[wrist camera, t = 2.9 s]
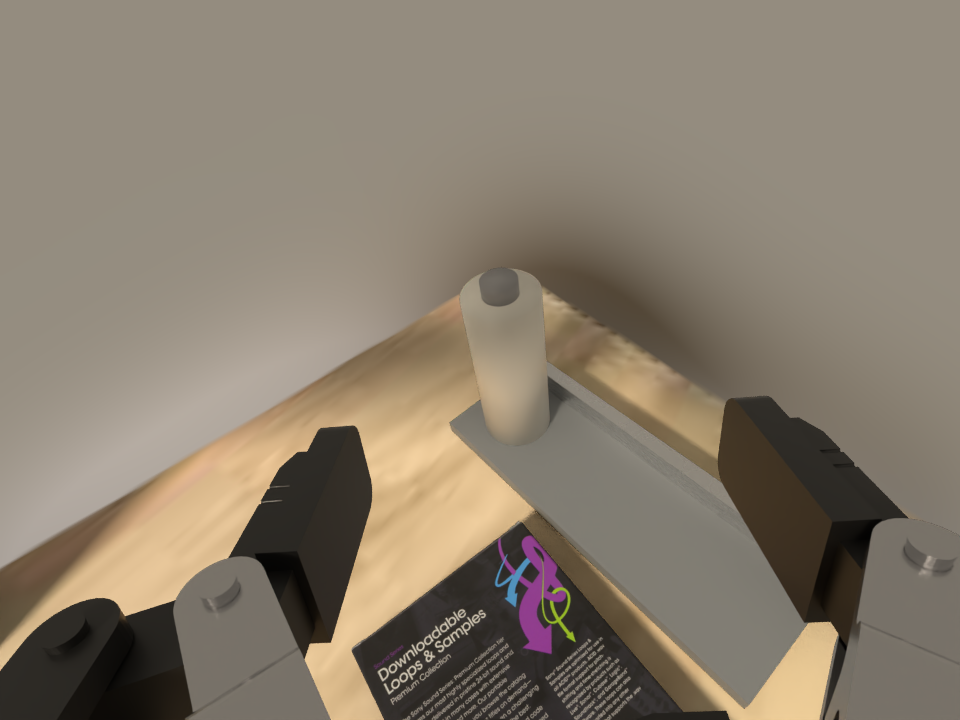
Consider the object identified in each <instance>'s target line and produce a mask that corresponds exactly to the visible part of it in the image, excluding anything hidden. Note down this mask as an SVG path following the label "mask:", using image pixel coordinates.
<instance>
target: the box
mask: <svg viewBox="0 0 960 720" xmlns="http://www.w3.org/2000/svg"><path fill="white" fill-rule="evenodd" d="M351 650H352V653H353V655H354V657H355V659H356V661H357V663H358V665H359V668H360V670H361V672H362V674H363V676H364V678H365V680H366V682H367V684H368V686H369V689H370V691H371V693H372V695H373V697H374V699H375V701H376V703H377V705H378V707H379V710H380V712H381V714H382V716H383V718H384V720H478V719H507V720H634V719H637V718H640V717H643V716H646V715H649V714H652V713H676V712H683V711H682V710H681V709H680V708H679V706H678V705H677V704H676V703H675V702H674V701H673V700H672V698H671V697H670V696H669V695H668V694H667V693H666V691H665V690H664V689H663V688H662V687H661V685H660V684H659V683H658V682H657V681H656V680H655V678H654V677H653V676H652V675H651V674H650V673H649V672H648V670H647V669H646V668H645V667H644V666H643V665H642V663H641V662H640V661H639V660H638V659H637V658H636V656H635V655H634V654H633V653H632V652H631V651H630V649H629V648H628V647H627V646H626V645H625V644H624V642H623V641H622V640H621V639H620V638H619V636H618V635H617V634H616V633H615V632H614V630H613V629H612V628H611V627H610V626H609V625H608V623H607V622H606V621H605V620H604V619H603V618H602V616H601V615H600V614H599V613H598V612H597V611H596V609H595V608H594V607H593V606H592V605H591V604H590V602H589V601H588V600H587V599H586V598H585V597H584V595H583V594H582V593H581V592H580V591H579V590H578V588H577V587H576V586H575V585H574V584H573V583H572V581H571V580H570V579H569V578H568V577H567V576H566V574H565V573H564V572H563V571H562V570H561V568H560V567H559V566H558V565H557V564H556V563H555V561H554V560H553V559H552V558H551V557H550V555H549V554H548V553H547V552H546V551H545V550H544V549H543V547H542V546H541V545H540V544H539V542H538V541H537V540H536V539H535V538H534V536H533V535H532V534H531V533H530V532H529V530H528V529H527V528H526V527H525V525H524V524H523V523H522V522H519V521H518V522H517V523H516V524H515V525H513V526H512V527H511V528H510V530H508V531H507V532H506V533H505V534H503V535H502V536H501V537H499V538H498V539H497V540H495V541H494V542H493V543H491V544H490V545H489V546H487V547H486V548H485V549H484V550H482V551H481V552H479V553H478V554H477V555H475V556H474V557H473V558H471V559H470V560H469V561H467V562H466V563H465V564H464V565H462V566H461V567H460V568H458V569H457V570H456V571H454V572H453V573H452V574H450V575H449V576H448V577H447V578H445V579H444V580H443V581H441V582H440V583H439V584H437V585H436V586H435V587H433V588H432V589H431V590H429V591H428V592H427V593H426V594H424V595H423V596H422V597H420V598H419V599H418V600H416V601H415V602H414V603H412V604H411V605H410V606H409V607H407V608H406V609H405V610H403V611H402V612H401V613H399V614H398V615H397V616H395V617H394V618H393V619H391V620H390V621H389V622H387V623H386V624H385V625H383V626H382V627H381V628H380V629H378V630H377V631H376V632H374V633H373V634H372V635H370V636H369V637H368V638H366V639H364V640H362V641H361V642H359V643H358V644H357V645H355V646H354V647H353V648H352V649H351Z"/></svg>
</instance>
